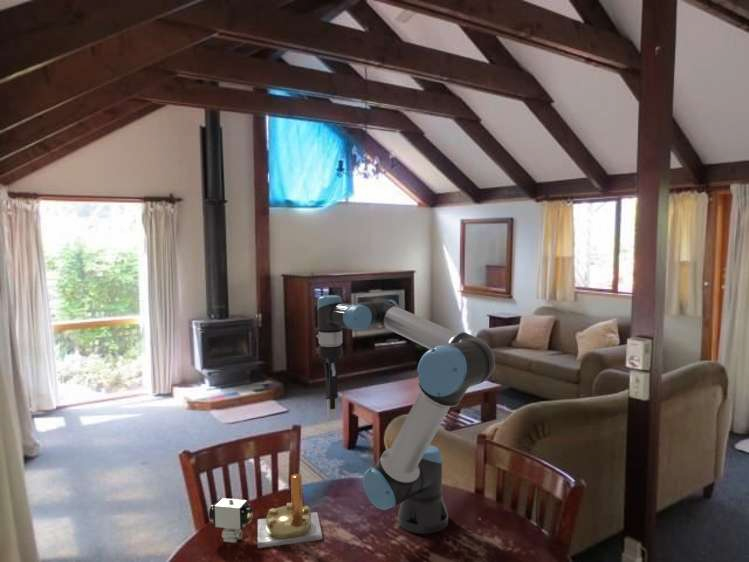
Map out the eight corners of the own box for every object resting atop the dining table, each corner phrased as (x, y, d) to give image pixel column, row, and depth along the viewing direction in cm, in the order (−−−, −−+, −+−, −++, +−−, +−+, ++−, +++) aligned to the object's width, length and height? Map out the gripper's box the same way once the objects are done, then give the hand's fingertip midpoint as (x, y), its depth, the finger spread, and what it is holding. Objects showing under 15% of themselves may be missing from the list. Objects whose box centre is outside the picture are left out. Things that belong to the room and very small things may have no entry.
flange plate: (317, 516, 161) (317, 512, 161) (322, 539, 149) (322, 534, 149) (257, 524, 157) (257, 519, 157) (257, 548, 145) (257, 542, 145)
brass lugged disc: (320, 528, 151) (318, 471, 150) (279, 544, 143) (277, 484, 142) (298, 510, 162) (296, 457, 161) (259, 523, 154) (257, 468, 153)
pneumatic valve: (247, 546, 146) (246, 504, 145) (209, 542, 148) (207, 501, 147) (256, 535, 151) (254, 495, 150) (219, 532, 153) (217, 492, 153)
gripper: (316, 341, 169) (318, 412, 171) (321, 348, 157) (322, 425, 158) (339, 340, 171) (340, 410, 172) (345, 347, 158) (347, 423, 160)
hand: (332, 417), depth 165 cm, fingers closed
